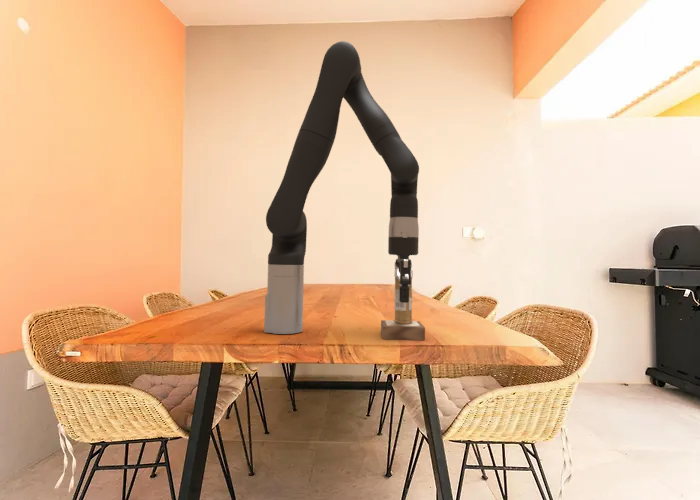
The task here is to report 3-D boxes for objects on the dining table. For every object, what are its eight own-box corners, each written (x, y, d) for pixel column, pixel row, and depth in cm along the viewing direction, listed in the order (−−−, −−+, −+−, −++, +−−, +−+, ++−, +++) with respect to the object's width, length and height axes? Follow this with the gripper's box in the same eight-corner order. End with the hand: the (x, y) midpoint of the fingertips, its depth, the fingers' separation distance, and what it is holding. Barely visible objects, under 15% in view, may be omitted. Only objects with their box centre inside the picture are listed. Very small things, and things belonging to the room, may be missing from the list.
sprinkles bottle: (416, 323, 102) (416, 269, 103) (402, 324, 100) (402, 269, 100) (403, 321, 106) (404, 269, 106) (390, 322, 104) (390, 269, 104)
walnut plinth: (382, 339, 98) (383, 325, 98) (380, 331, 108) (381, 319, 108) (424, 340, 98) (425, 326, 98) (419, 332, 108) (419, 320, 108)
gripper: (386, 237, 110) (385, 297, 110) (390, 234, 96) (389, 303, 96) (414, 237, 110) (413, 298, 110) (422, 234, 96) (421, 304, 96)
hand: (402, 300), depth 103 cm, fingers open, 8 cm apart
